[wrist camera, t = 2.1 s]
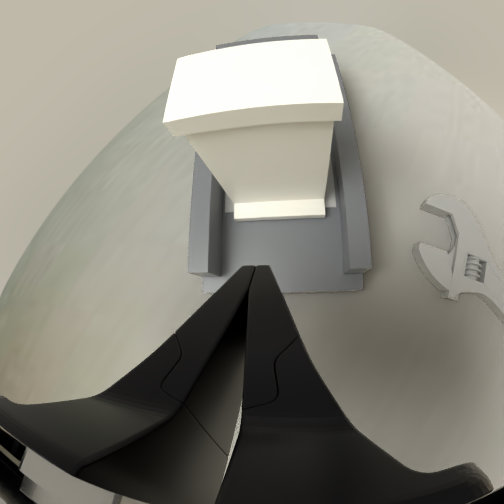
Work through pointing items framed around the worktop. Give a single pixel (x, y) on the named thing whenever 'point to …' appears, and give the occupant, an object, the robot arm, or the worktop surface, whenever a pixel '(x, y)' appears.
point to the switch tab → (261, 123)
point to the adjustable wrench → (461, 256)
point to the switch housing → (287, 224)
